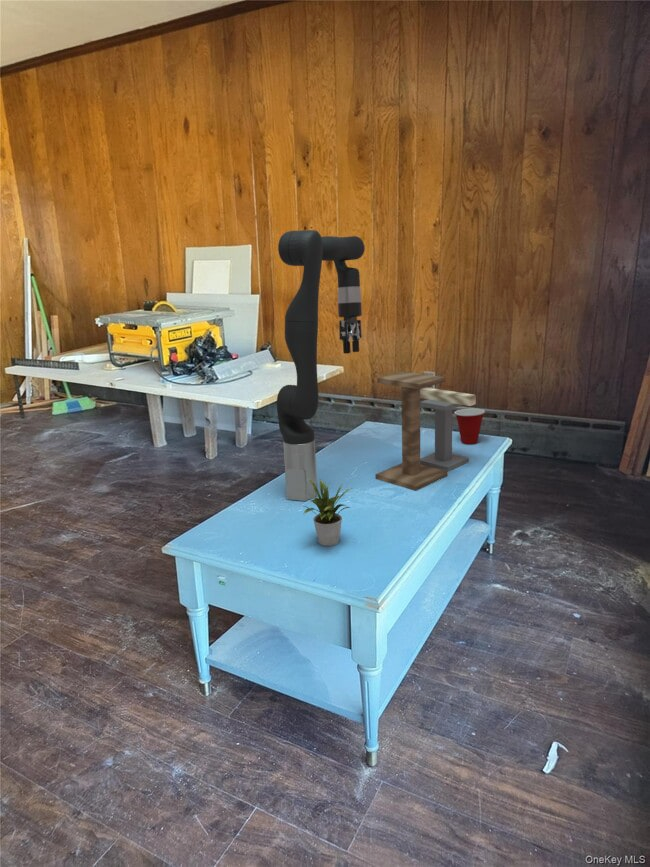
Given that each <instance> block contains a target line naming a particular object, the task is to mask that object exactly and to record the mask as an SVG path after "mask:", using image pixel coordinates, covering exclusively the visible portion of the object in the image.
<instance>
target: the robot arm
mask: <svg viewBox="0 0 650 867" xmlns="http://www.w3.org/2000/svg"><path fill="white" fill-rule="evenodd" d="M277 246H278V248H277V250H278V255H279V258H280V260H281V261H282V262H283V263H284V264H285V265H288V266H293V267H303V273H302V278H301V279H302V280H301V283H300V285H299V289H298V290H297V292H296V294H295V296H294V297H293V299H292V300H291V302H290V303H289V306H288V307H287V310H286V312H285V316H284V341H285V344H286V347H287V349H288V352H289V353H290V356H291V359H292V361H293V363H294V366H295V372H296V385H295V384H286V385H284V386H282V387H281V388H280V390H279V391H278V393H277V396H276V397H277V398H276V411H277V413H276V414H277V419H278V427H279V432H280V434H281V436H282V444H283V458H284V459H283V460H284V461H283V462H284V476H285V478H284V479H285V490H286V499H287V500H291V501H292V500H293V501H301V502H305V501H308V500H312V499H311V497H312V498H314V499H315V498H317V497H318V495H317V494H316V492H315V490H314V487H313V485H312V484H311V482H310V481H309V480H308V479H310V480H311V481H312V482H314V484H315V485H316V487H317V488H318V477H317V476H318V474H317V457H316V441H315V438H316V437H315V431H314V429H313V428H312V427H311V426H310V425H309V424H308V423H307V422H306V421H305V420H307V421H308V420H310V419H313V418H314V416H315V415H316V414H317V412H318V408H319V400H320V399H319V397H320V396H319V382H318V357H317V356H318V337H319V335H318V333H319V293H320V292H319V291H320V282H321V274H322V273H321V272H322V264H323V261H326V262H327V261H328V262H331V261H332V262H333V263H334V266H335V270H336V275H337V310H338V312H337V313H338V318H343V320H339V325H338V327H339V340H340V341H341V342H342V347H343V348H342V350H343V354H351V352H352V353H358V352H360V340H361V339H362V320H361V319H358V318H357V317H362V315H363V312H362V308H363V307H362V292H361V284H360V283H361V280H360V270H359V268H356V267H350V266H348V265H347V263H346V261H355V260H359V259H360V258H361V257H362V256H363V255H364V253H365V243H364V241H363V240H362V238H361V237H360V236H356V235H354V236H353V235H351V236H342V237H341V236H330V235H329V236H326V235H325V236H322V235H321V234H320V232H319V231H318V230H313V229H305V230H289V231H286V232H284V233H282V235H281V236H280V238H279V240H278V244H277ZM351 340H352V341H351ZM351 345H352V346H351ZM351 349H352V351H351ZM306 478H307V479H306ZM304 490H305V491H304ZM308 492H309V493H308ZM308 494H309V495H308Z"/></svg>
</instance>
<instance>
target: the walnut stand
mask: <svg viewBox="0 0 650 867" xmlns="http://www.w3.org/2000/svg"><path fill="white" fill-rule="evenodd" d="M445 379H446V378H445V376H441V375H440V376H439V375H434V374H433V375H432V374H424V373H417V372H409V371H403V370H402V371H399V372H396V373H391V374H388V375H384V376H379V377H377V380H376V381H377V384H384V385H389V386H396V387H401V388H400V394H401V463H399V464H397V465H394V466H392V467H389V468H387V469H385V470H382V471H379V472H378V473H375V480H379V481H381V482H386V483H389V484H392V485H395V486H398V487H401V488H405V489H409V490H412V491H415V492H416V490H417V491H419V490H421V489H423V488H425V487H427V486H430V485H431V483H432V484H433V482H434V483H435V481H436V482H438V481H440V480H442V479H445V478H446V477H449V476H448V474H449V472H448V471H444V470H440V469H436V468H433V467H429V466H425V465H421V464H420V459H421V407H420V402H421V398H420V389H423V388H426V387H427V388H430V387H432V386H436V385H439V384H442V383H445V381H446V380H445ZM441 478H442V479H441ZM439 479H440V480H439ZM437 480H438V481H437ZM422 487H423V488H422ZM420 488H421V489H420ZM418 489H419V490H418Z"/></svg>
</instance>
